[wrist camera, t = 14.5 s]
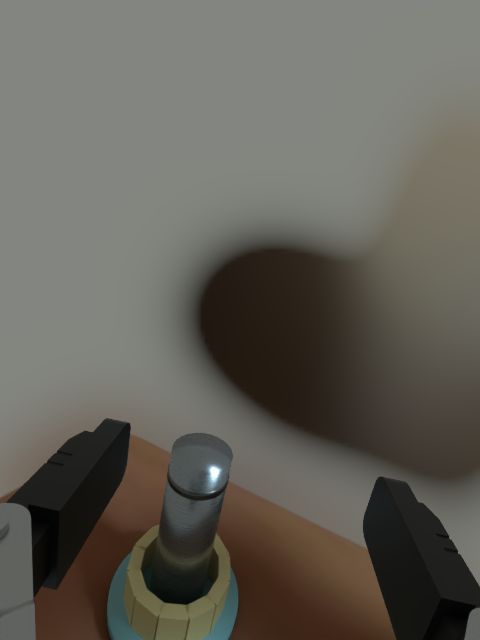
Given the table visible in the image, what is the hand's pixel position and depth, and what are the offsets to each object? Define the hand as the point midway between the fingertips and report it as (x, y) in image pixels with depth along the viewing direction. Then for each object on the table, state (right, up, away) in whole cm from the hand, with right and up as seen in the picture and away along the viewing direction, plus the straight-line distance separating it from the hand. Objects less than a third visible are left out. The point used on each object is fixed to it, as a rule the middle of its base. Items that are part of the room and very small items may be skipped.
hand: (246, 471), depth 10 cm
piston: (-6, -18, +18) cm, 26 cm away
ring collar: (-6, -19, +18) cm, 27 cm away
